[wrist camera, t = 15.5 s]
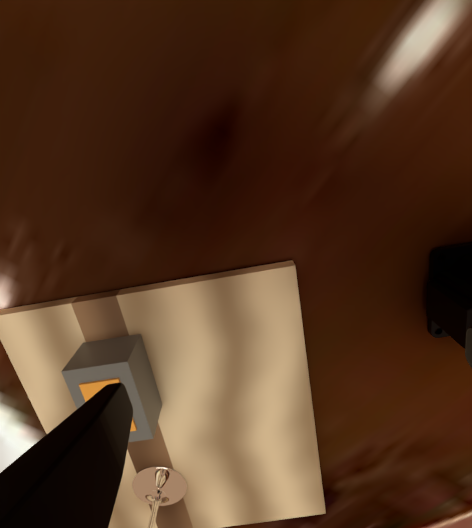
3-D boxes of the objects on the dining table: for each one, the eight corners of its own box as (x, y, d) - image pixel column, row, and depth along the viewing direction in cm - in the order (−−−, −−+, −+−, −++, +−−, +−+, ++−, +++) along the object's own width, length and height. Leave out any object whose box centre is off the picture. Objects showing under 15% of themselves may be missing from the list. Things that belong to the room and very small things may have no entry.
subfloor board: (292, 260, 21) (295, 265, 20) (322, 501, 29) (325, 513, 28) (-1, 310, 22) (-11, 317, 21) (104, 531, 30) (100, 543, 29)
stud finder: (140, 333, 22) (126, 363, 19) (162, 404, 24) (152, 440, 21) (82, 342, 22) (59, 373, 19) (109, 412, 24) (92, 449, 21)
